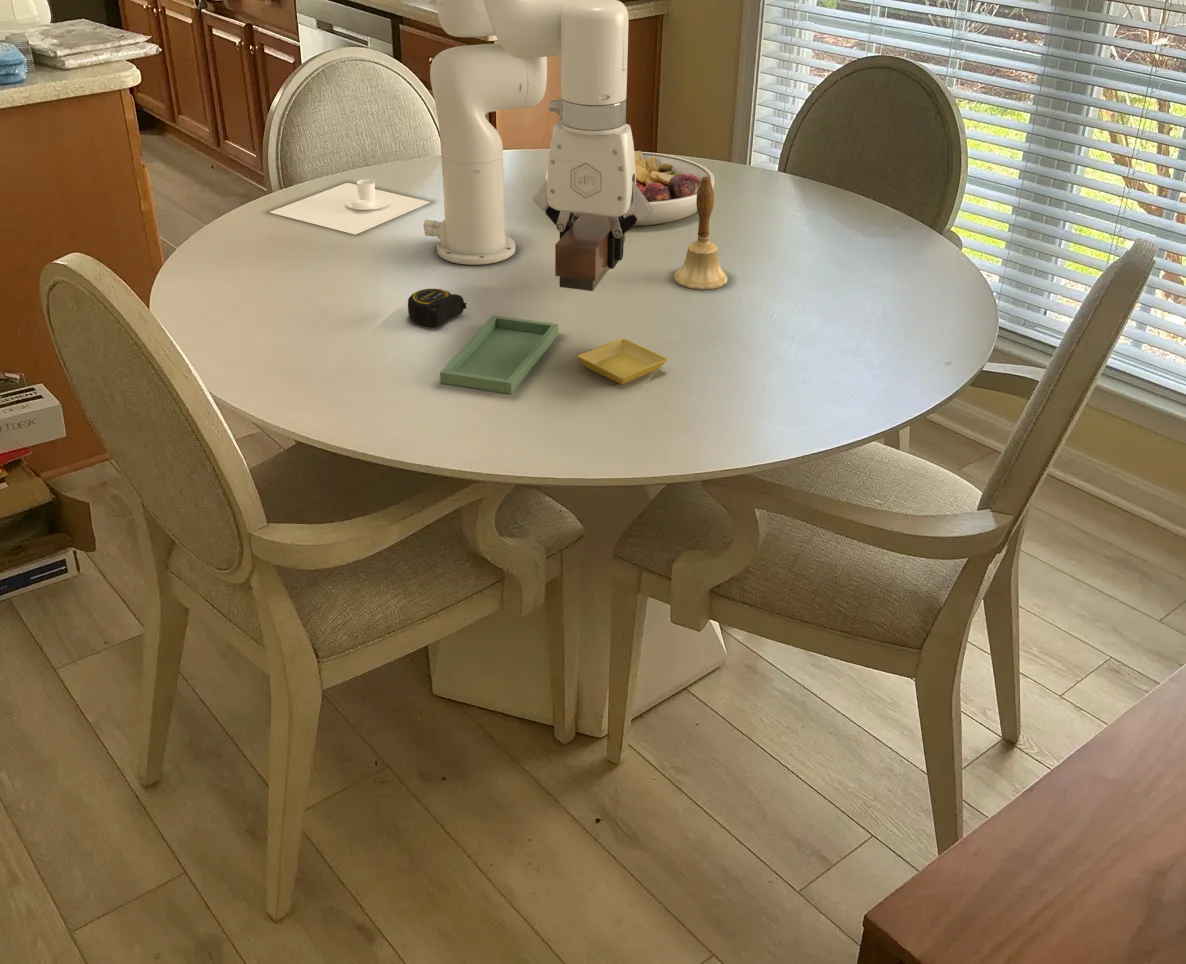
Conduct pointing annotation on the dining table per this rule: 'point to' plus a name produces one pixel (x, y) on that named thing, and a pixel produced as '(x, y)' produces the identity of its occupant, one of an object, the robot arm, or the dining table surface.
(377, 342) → the dining table surface
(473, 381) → the tray
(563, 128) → the robot arm
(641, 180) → the bowl
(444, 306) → the tape measure
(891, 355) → the dining table surface
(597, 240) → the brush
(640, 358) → the yellow flat tray
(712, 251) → the hand bell
